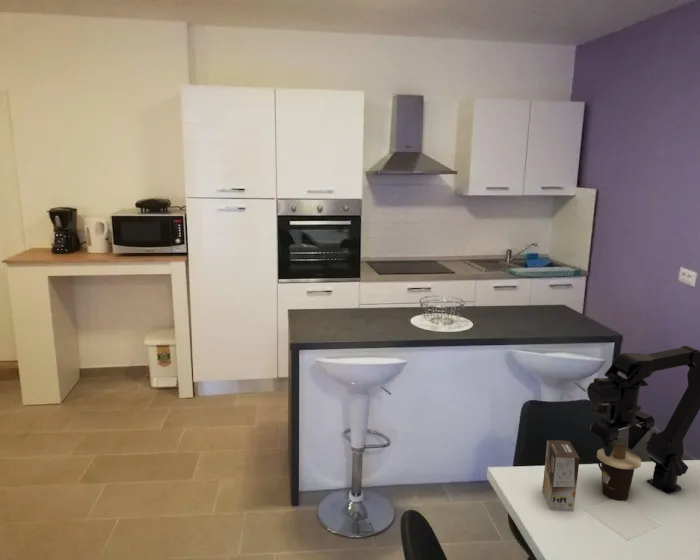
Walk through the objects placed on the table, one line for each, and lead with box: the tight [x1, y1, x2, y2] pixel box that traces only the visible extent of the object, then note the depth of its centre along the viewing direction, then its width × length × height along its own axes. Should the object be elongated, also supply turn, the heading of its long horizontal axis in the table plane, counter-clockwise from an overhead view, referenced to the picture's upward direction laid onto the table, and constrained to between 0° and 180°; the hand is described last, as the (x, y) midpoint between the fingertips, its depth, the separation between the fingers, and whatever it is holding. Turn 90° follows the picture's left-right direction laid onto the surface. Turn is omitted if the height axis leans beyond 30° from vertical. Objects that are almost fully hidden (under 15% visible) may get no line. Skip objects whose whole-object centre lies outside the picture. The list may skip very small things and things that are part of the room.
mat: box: [584, 499, 663, 541], centre depth 141 cm, size 13×13×1 cm
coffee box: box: [542, 439, 581, 512], centre depth 146 cm, size 9×6×16 cm
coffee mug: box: [596, 457, 635, 502], centre depth 152 cm, size 12×9×10 cm
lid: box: [596, 441, 642, 470], centre depth 150 cm, size 11×11×4 cm
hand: (618, 452), depth 150 cm, fingers open, 9 cm apart
